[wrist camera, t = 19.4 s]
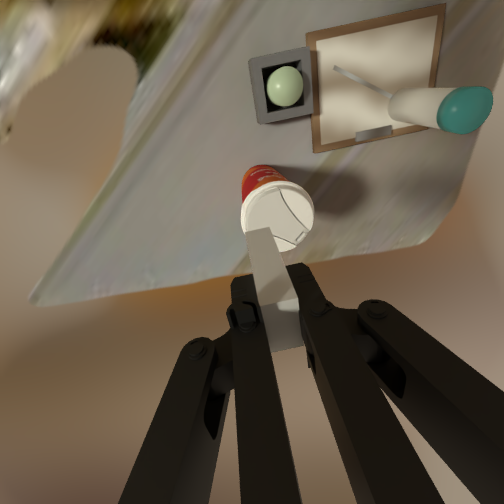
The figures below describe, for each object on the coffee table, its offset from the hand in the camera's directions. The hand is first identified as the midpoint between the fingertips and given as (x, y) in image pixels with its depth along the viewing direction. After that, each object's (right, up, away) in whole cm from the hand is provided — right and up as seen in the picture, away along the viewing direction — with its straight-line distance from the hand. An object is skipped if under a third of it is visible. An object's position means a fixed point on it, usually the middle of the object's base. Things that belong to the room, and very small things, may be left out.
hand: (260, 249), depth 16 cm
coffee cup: (+1, +10, +25) cm, 27 cm away
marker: (+20, +20, +20) cm, 35 cm away
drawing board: (+16, +22, +20) cm, 34 cm away
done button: (+3, +21, +18) cm, 28 cm away
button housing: (+3, +21, +19) cm, 29 cm away
